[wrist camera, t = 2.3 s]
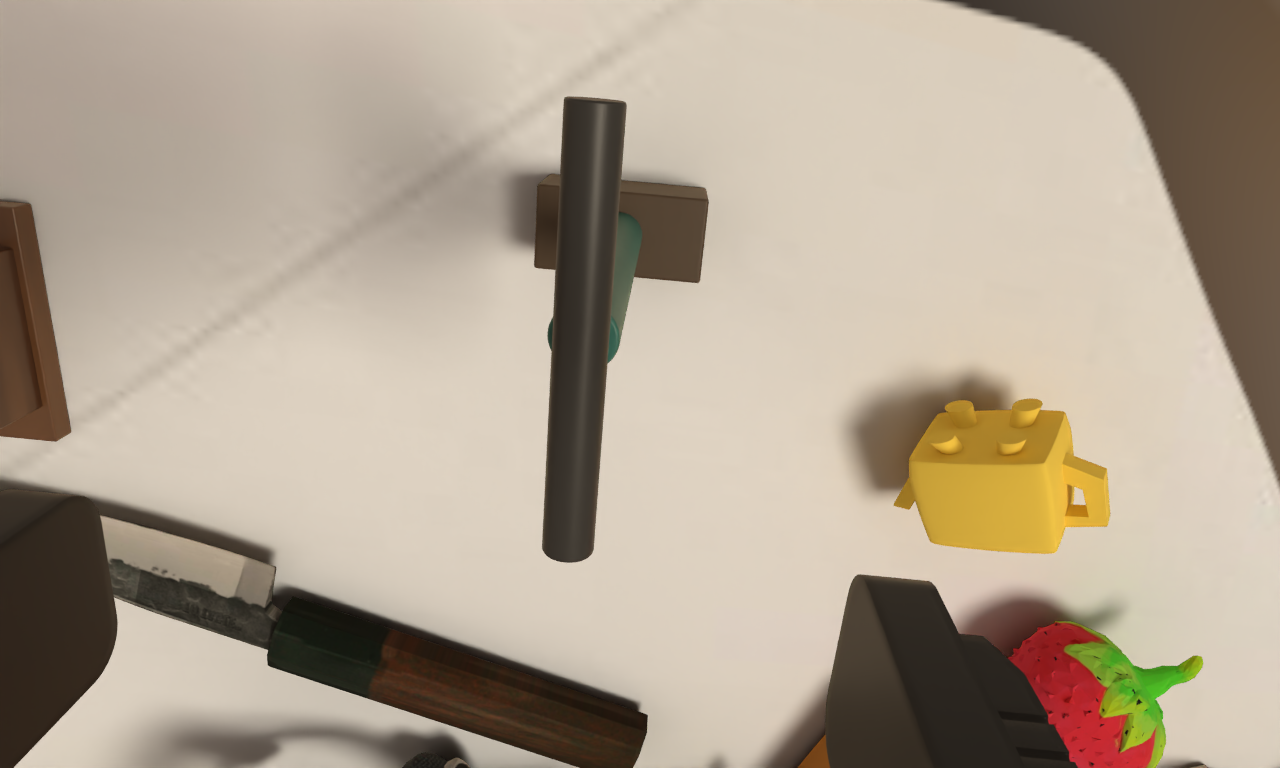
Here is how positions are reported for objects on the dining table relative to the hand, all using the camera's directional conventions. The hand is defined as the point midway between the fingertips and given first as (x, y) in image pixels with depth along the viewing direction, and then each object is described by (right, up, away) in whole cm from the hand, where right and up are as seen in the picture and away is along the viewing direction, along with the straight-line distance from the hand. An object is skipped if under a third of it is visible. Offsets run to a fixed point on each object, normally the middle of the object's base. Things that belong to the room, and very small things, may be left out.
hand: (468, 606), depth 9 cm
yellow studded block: (+15, +1, +23) cm, 27 cm away
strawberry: (+17, -14, +29) cm, 36 cm away
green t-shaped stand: (+1, +9, +23) cm, 25 cm away
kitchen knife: (-15, -8, +30) cm, 35 cm away
